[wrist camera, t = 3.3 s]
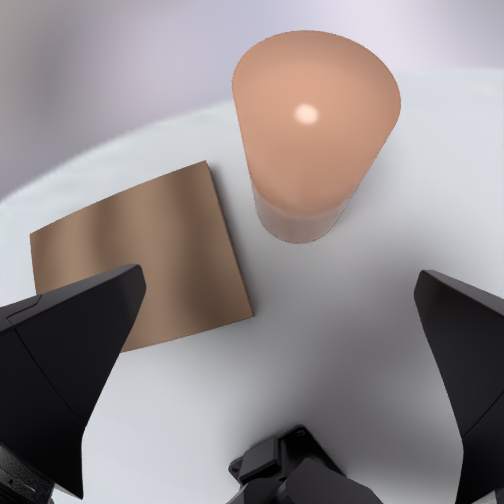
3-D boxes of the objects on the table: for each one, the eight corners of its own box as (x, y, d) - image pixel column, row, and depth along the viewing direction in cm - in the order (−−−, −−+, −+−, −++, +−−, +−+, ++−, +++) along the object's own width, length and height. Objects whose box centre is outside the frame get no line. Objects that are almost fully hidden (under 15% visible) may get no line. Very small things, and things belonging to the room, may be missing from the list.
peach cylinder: (355, 211, 22) (431, 107, 9) (289, 260, 22) (307, 191, 9) (304, 150, 23) (323, 15, 10) (239, 193, 23) (200, 72, 10)
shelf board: (210, 172, 23) (205, 160, 21) (254, 316, 21) (252, 316, 19) (43, 239, 24) (29, 234, 22) (66, 364, 21) (52, 367, 20)
